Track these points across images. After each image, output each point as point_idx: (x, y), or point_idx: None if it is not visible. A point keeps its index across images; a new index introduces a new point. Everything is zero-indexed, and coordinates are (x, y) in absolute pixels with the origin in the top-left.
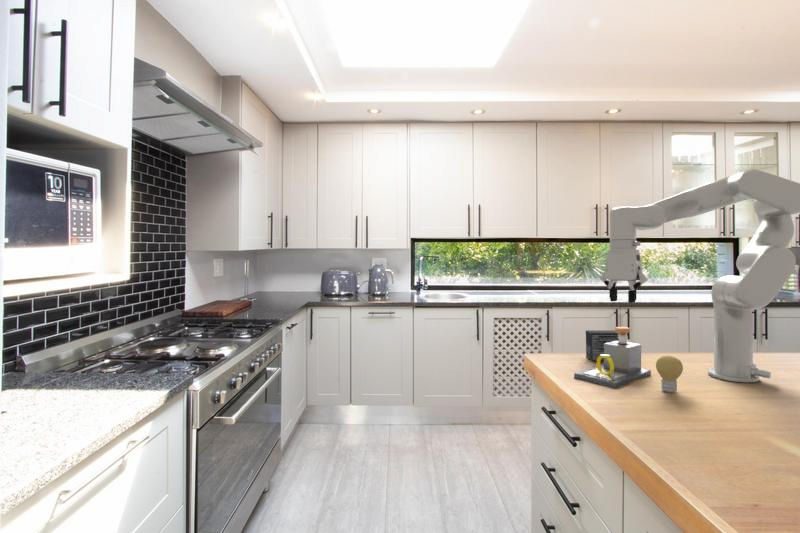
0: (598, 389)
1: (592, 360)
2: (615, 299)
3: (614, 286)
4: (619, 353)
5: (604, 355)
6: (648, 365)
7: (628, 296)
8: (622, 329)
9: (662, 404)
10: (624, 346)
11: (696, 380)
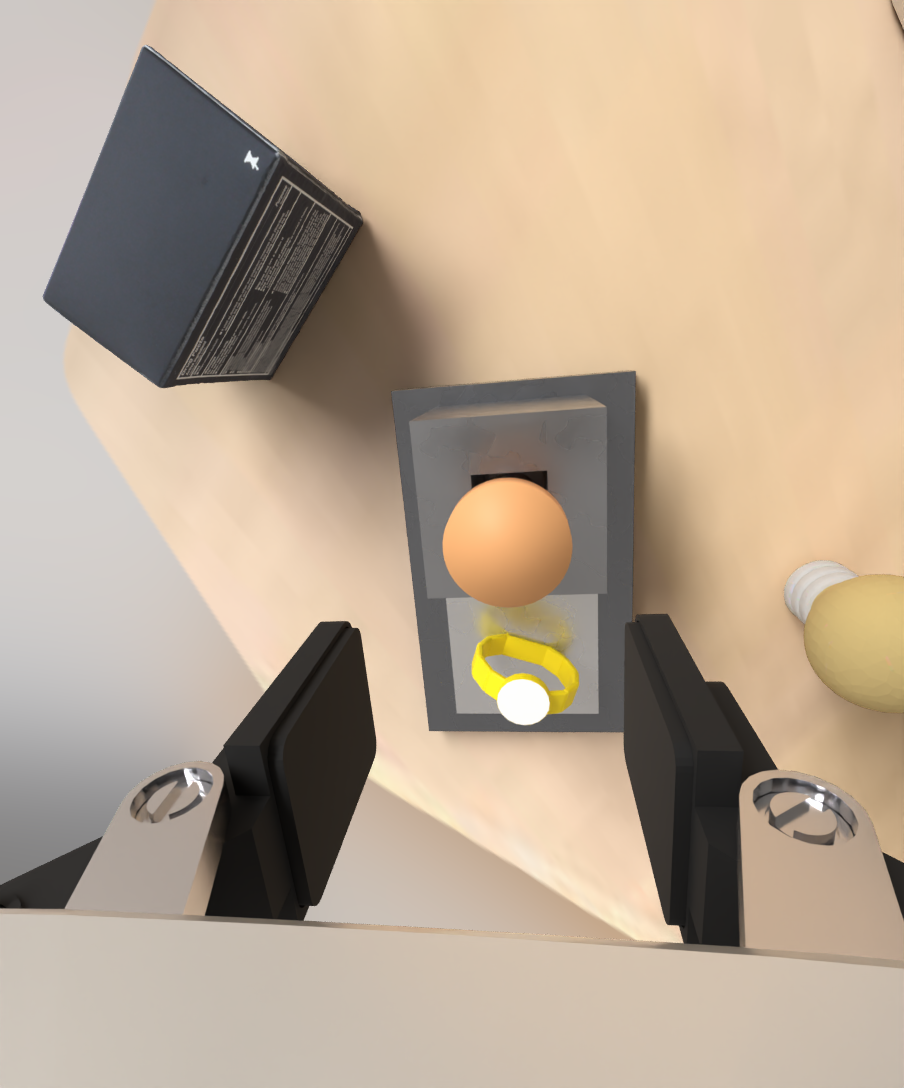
0: (590, 777)
1: (270, 377)
2: (359, 683)
3: (228, 861)
4: None
5: (529, 715)
6: (514, 144)
7: (647, 831)
8: (536, 598)
9: (849, 764)
10: (564, 577)
11: (864, 255)
